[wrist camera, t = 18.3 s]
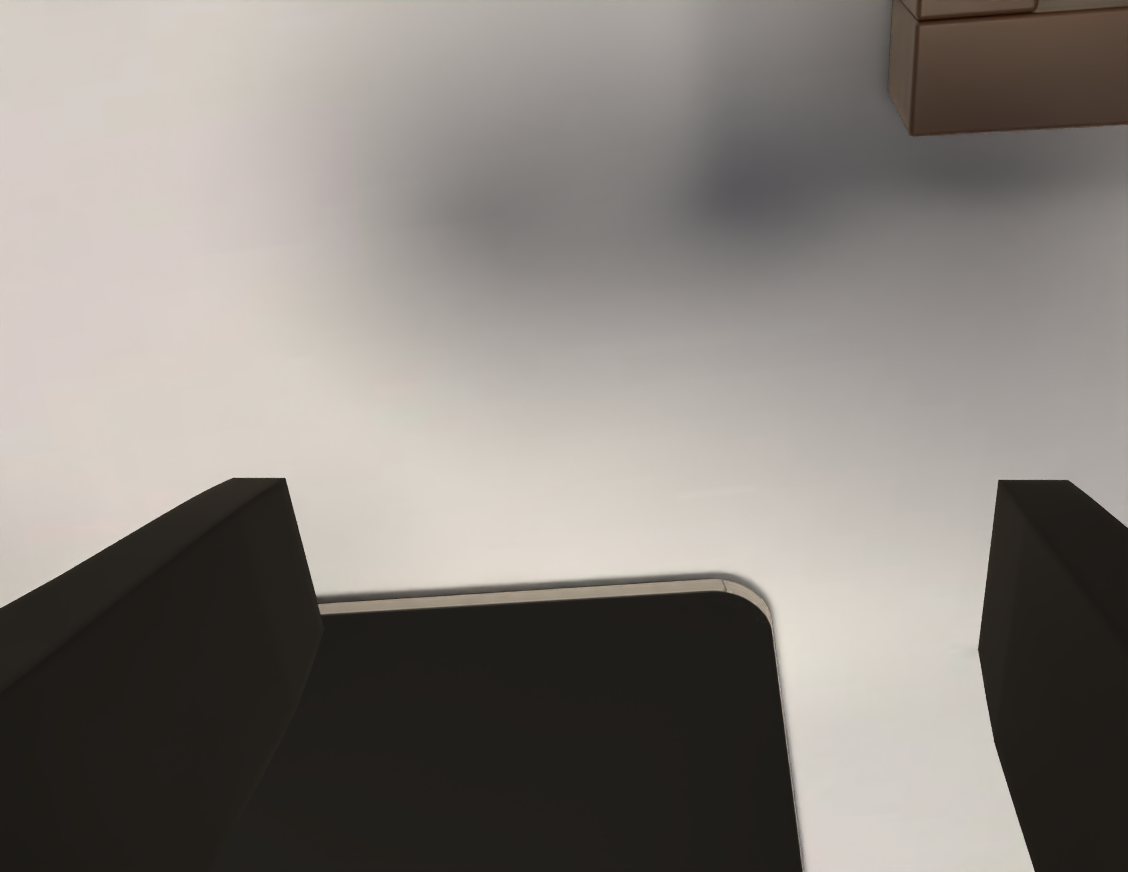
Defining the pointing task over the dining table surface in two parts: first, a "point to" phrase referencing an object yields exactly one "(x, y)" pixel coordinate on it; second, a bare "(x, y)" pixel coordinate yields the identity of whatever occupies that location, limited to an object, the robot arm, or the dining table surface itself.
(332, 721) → the tablet
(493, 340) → the dining table surface
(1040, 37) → the stand
